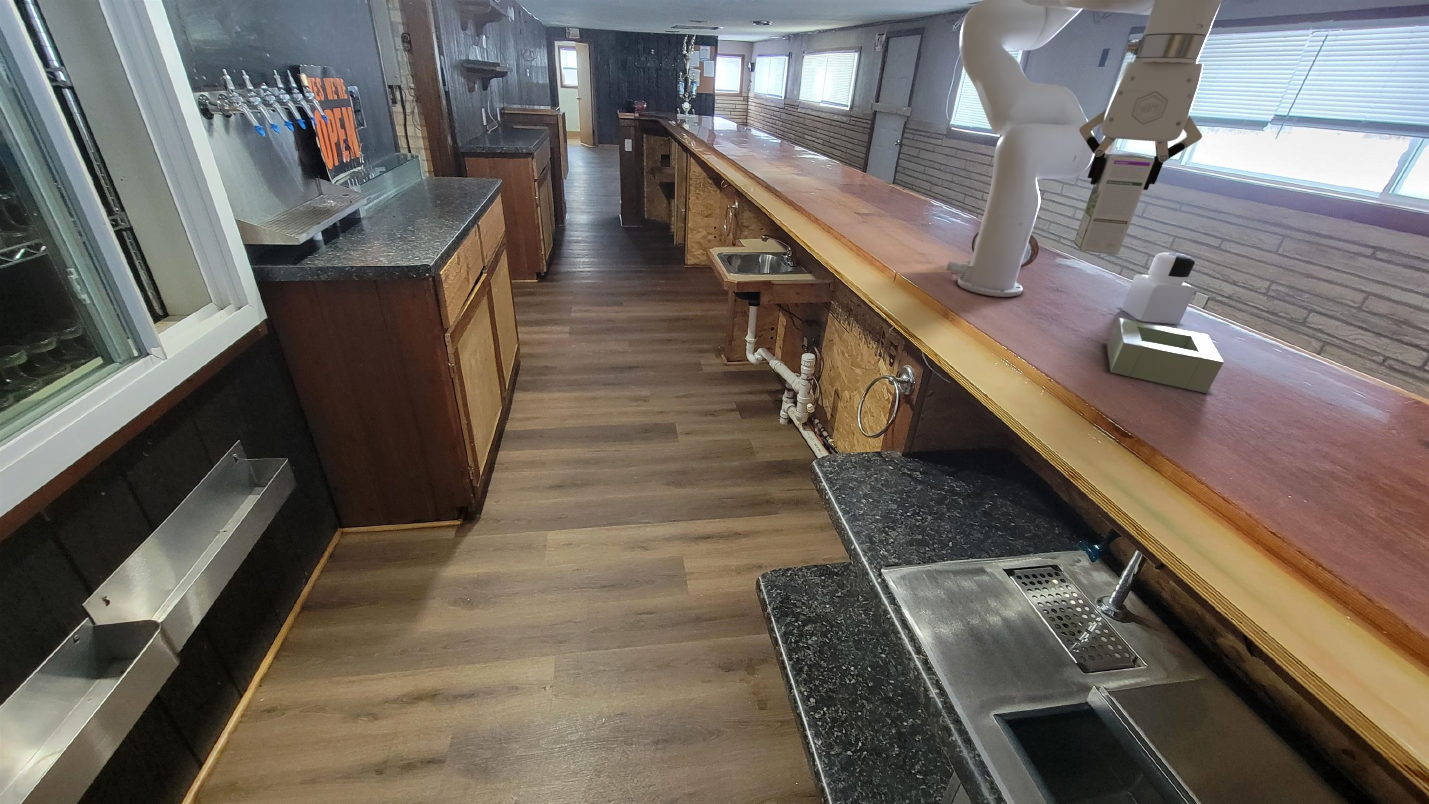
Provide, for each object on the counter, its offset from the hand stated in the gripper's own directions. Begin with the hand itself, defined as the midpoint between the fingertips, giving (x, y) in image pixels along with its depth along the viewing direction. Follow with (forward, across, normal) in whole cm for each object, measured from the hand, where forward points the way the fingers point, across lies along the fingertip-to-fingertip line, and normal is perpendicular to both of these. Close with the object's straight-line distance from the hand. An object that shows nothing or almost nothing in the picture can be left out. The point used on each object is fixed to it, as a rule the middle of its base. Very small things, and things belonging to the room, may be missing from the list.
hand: (1118, 185), depth 88 cm
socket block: (+25, +12, -10) cm, 29 cm away
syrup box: (+10, 0, 0) cm, 10 cm away
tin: (+25, -15, +40) cm, 49 cm away
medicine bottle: (+25, +14, +18) cm, 34 cm away
